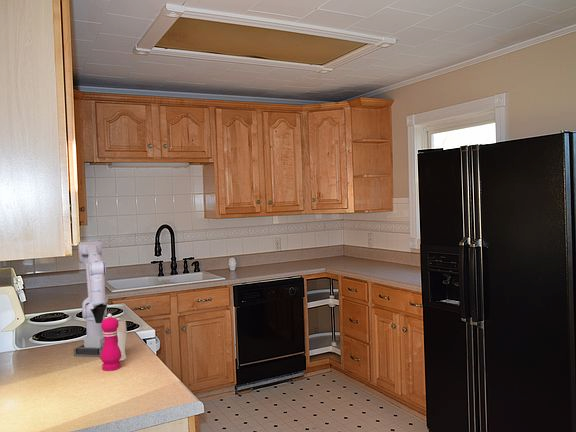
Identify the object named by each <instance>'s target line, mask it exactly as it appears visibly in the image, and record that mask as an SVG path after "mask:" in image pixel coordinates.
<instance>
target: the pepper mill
mask: <svg viewBox="0 0 576 432" xmlns="http://www.w3.org/2000/svg"><path fill="white" fill-rule="evenodd" d="M105 318H106V319H104V320H103V321H102V323H101V328H102V330H103V331H104V332H103V336H104V338H103V343H104V346H103V349H102V352H101V356H100V357H99V358H100V360H101V362H102V365H101V368H102V371H105V372H111V371H117V370H119V369H120V368H121V361H119V360H120V359H121V356H122V355H121V351H120V348H119V346H118V344H117V340H116V335H117V330H116V329H117V328H118V326H119V323H118V320H117V319H118V318H115V317H113V314H112V313H111V312H110V313H107V315H106V317H105Z"/></svg>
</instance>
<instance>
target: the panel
mask: <svg viewBox="0 0 576 432" xmlns="http://www.w3.org/2000/svg"><path fill="white" fill-rule="evenodd" d="M83 339H84V340H83V344H84V347H89V348H103V346H104V338H103V337H87V336H86V337H83Z"/></svg>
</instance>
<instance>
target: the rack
mask: <svg viewBox="0 0 576 432" xmlns="http://www.w3.org/2000/svg"><path fill="white" fill-rule="evenodd" d="M102 349H103V348H89V347H84V343H83V344H80V345H78V346H77V347H74V348H73V356H74V357H84V358H85V357H89V358H100V356H101V352H102Z"/></svg>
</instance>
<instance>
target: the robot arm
mask: <svg viewBox="0 0 576 432" xmlns="http://www.w3.org/2000/svg"><path fill="white" fill-rule="evenodd" d="M79 242H80V244H79V243H78V244H79V245H78V244H77V245H78V248H77V249H78V258H79V261H80V262H81V263H83V264H84V267H85V272H86V273H85V274H86V285H87V286H86V288H87V297H86V298H85V299H84V300H83V301H82V303H81V306H82V307H81V312H82V313H81V314H82V318H83V320H85V325H86V326H85V327H86V337H103V339H104V336H103V332H104V331H103V330H102V328H101V323H102V321H103V320H104V319H106V318H107V315H108V313H107V311H108V310H107V306H108V305H107V303H108V301H109V297H106V276H105V275H106V272H107V266H106V261H105V260H103V258H102V255H103V243H102V241H101V240H95V241H79ZM82 341H84V338H82Z"/></svg>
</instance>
